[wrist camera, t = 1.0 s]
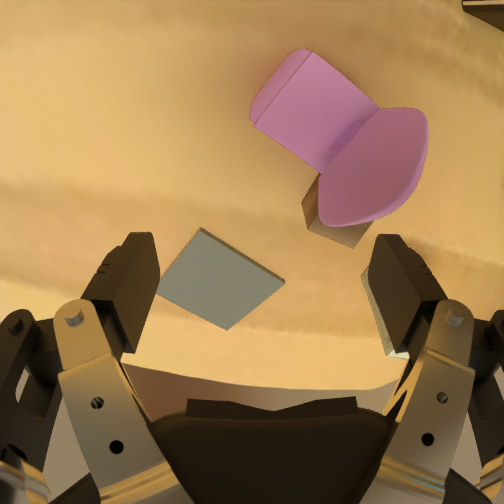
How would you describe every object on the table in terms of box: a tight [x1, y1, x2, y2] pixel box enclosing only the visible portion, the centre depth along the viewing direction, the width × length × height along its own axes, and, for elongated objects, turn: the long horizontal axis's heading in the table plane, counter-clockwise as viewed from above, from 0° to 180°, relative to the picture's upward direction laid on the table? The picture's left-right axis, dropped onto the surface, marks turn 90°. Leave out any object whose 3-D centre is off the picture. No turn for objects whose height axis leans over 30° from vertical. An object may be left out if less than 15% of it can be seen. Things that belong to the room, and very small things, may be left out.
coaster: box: [156, 228, 285, 330], centre depth 37 cm, size 12×12×1 cm
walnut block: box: [302, 173, 374, 249], centre depth 27 cm, size 5×5×5 cm
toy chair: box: [249, 49, 428, 227], centre depth 18 cm, size 8×9×15 cm
